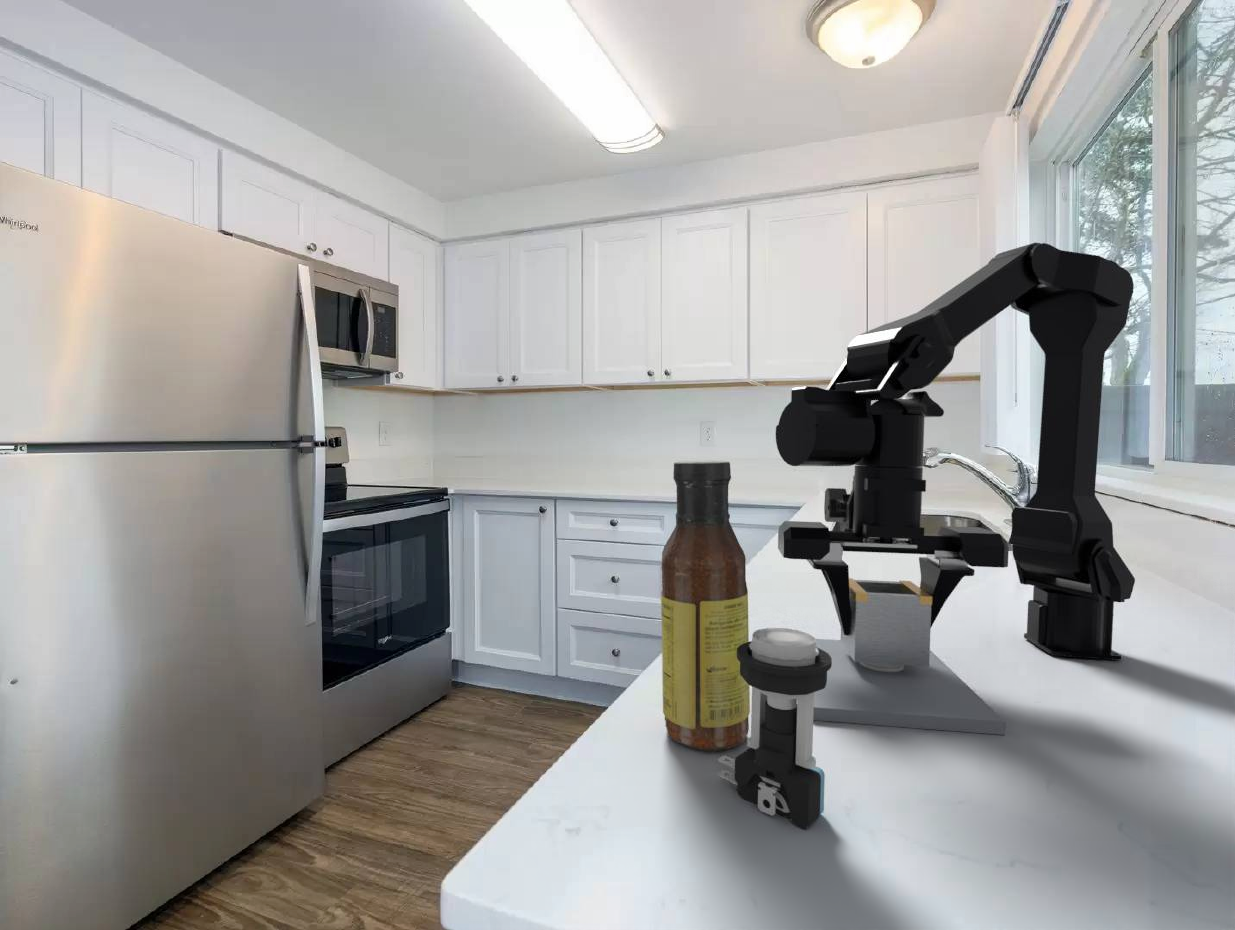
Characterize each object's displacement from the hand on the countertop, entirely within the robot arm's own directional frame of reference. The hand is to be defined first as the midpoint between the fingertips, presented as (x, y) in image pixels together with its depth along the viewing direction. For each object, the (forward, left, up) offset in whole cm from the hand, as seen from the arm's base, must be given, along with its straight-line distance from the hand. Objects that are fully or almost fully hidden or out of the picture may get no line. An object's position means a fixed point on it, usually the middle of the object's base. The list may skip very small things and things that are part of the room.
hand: (882, 636), depth 59 cm
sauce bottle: (+16, +15, -4) cm, 22 cm away
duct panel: (+1, +2, -4) cm, 4 cm away
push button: (+12, +23, -4) cm, 26 cm away
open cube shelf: (0, 0, -2) cm, 2 cm away
